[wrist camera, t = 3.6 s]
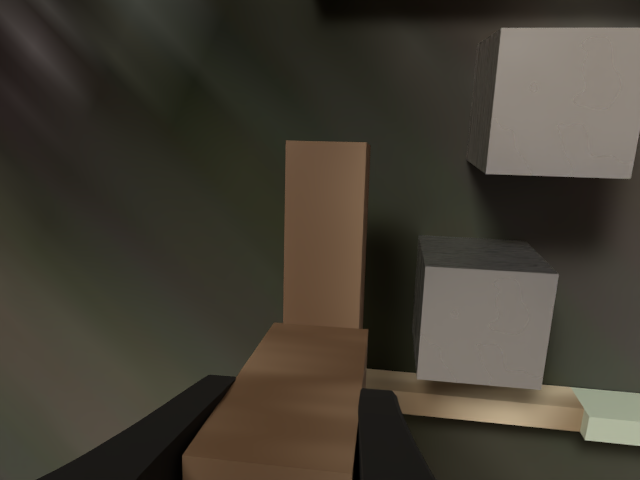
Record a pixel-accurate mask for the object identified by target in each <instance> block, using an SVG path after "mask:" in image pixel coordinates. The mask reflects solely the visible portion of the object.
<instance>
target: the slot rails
mask: <svg viewBox="0 0 640 480" xmlns="http://www.w3.org/2000/svg"><path fill="white" fill-rule="evenodd" d="M366 388H368V389H380V390H392V391H393V392H394V394H395V395H396V396H397V399H398V402H399V406H400V409H401V411H402V414H410V415H420V416H430V417H440V418H450V419H460V420H470V421H479V422H489V423H499V424H509V425H519V426H529V427H538V428H548V429H558V430H568V431H578V432H580V429H581V424H582V418H583V413H584V408H583V406H582V405H581V403H580V401H579V400H578V398H577V397H576V395H575V393H574V392H573V390H572V389H571V387H563V386H552V385H542V387H541V390H534V389H523V388H511V387H500V386H488V385H477V384H466V383H454V382H443V381H431V380H420V379H417V377H416V373H409V372H398V371H387V370H376V369H367V371H366Z"/></svg>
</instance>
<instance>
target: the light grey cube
mask: <svg viewBox="0 0 640 480" xmlns="http://www.w3.org/2000/svg"><path fill="white" fill-rule="evenodd" d="M639 132H640V28H501V29H499V30H498V31H496V32H495V33H493V34H492V35H490V36H489V37H487V38H486V39H484V40H483V41H482V42H480V43H479V44H477V54H476V64H475V75H474V85H473V95H472V106H471V116H470V127H469V137H468V148H467V158H466V160H468V161H469V162H470V163H472V164H473V165H474V166H476V167H477V168H478V169H480V170H481V171H482V172H484V173H485V174H500V175H529V176H558V177H587V178H616V179H631V175H632V169H633V164H634V159H635V153H636V148H637V143H638V137H639Z"/></svg>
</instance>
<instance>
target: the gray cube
mask: <svg viewBox="0 0 640 480" xmlns="http://www.w3.org/2000/svg"><path fill="white" fill-rule="evenodd" d="M558 277H559V274H558V273H557V272H556V271H555V270H554V269H553V268H552V267H551V266H550V265H549V264H548V263H547V262H546V261H545V260H544V259H543V258H542V257H541V256H540V255H539V254H538V253H537V252H536V251H535V250H534V249H533V248H532V247H531V246H530V245H529V244H528V243H527V242H526V241H520V240H501V239H481V238H462V237H442V236H423V235H419V239H418V252H417V266H416V280H415V293H414V307H413V321H412V335H413V346H414V356H415V367H416V377H417V379H420V380H431V381H443V382H454V383H466V384H477V385H488V386H500V387H511V388H523V389H534V390H541V387H542V381H543V374H544V368H545V361H546V355H547V348H548V342H549V335H550V329H551V322H552V316H553V309H554V303H555V296H556V290H557V283H558Z"/></svg>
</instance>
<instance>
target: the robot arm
mask: <svg viewBox="0 0 640 480" xmlns="http://www.w3.org/2000/svg"><path fill="white" fill-rule="evenodd" d="M235 380H236V377H230V376H219V375H208V376H207V377H205V378H203V379H201V380H200V381H198V382H197V383H195V384H194V385H192V386H191V387H189V388H188V389H186V390H185V391H183V392H182V393H180V394H179V395H177V396H176V397H175V398H173V399H172V400H170V401H169V402H167V403H166V404H164V405H163V406H161V407H160V408H158V409H157V410H155V411H154V412H152V413H151V414H149V415H148V416H146V417H145V418H143V419H142V420H140V421H139V422H137V423H135V424H134V425H132V426H131V427H129V428H127V429H126V430H124V431H122V432H121V433H119V434H117V435H116V436H114V437H113V438H111V439H109V440H108V441H106V442H104V443H103V444H101V445H99V446H98V447H96V448H94V449H93V450H91V451H89V452H88V453H86V454H84V455H82V456H81V457H79V458H77V459H75V460H73V461H72V462H70V463H68V464H66V465H64V466H62V467H60V468H59V469H57V470H55V471H53V472H51V473H49V474H47V475H45V476H43V477H41V478H39V479H37V480H183V472H182V455H183V454H184V452H185V451H186V449H187V448H188V446H189V445H190V443H191V442H192V441H193V439H194V438H195V436H196V435H197V433H198V432H199V430H200V429H201V428H202V426H203V425H204V423H205V422H206V420H207V419H208V417H209V416H210V414H211V413H212V412H213V410H214V409H215V407H216V406H217V405H218V404H219V402H220V401H221V400H222V399H223V397H224V396H225V394H226V393H227V391H228V390H229V388H230V387H231V385H232V384H233V383H234V381H235ZM356 480H436V479H435V477H434V476H433V474H432V472H431V470H430V469H429V467H428V465H427V463H426V462H425V460H424V458H423V456H422V454H421V452H420V450H419V448H418V447H417V445H416V443H415V441H414V439H413V437H412V435H411V433H410V430H409V428H408V426H407V424H406V421H405V419H404V417H403V414H402V411H401V409H400V406H399V402H398V399H397V396H396V395H395V394H394V392H393V391H392V390H380V389H368V388H362V389H361V391H360V397H359V404H358V441H357V467H356Z"/></svg>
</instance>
